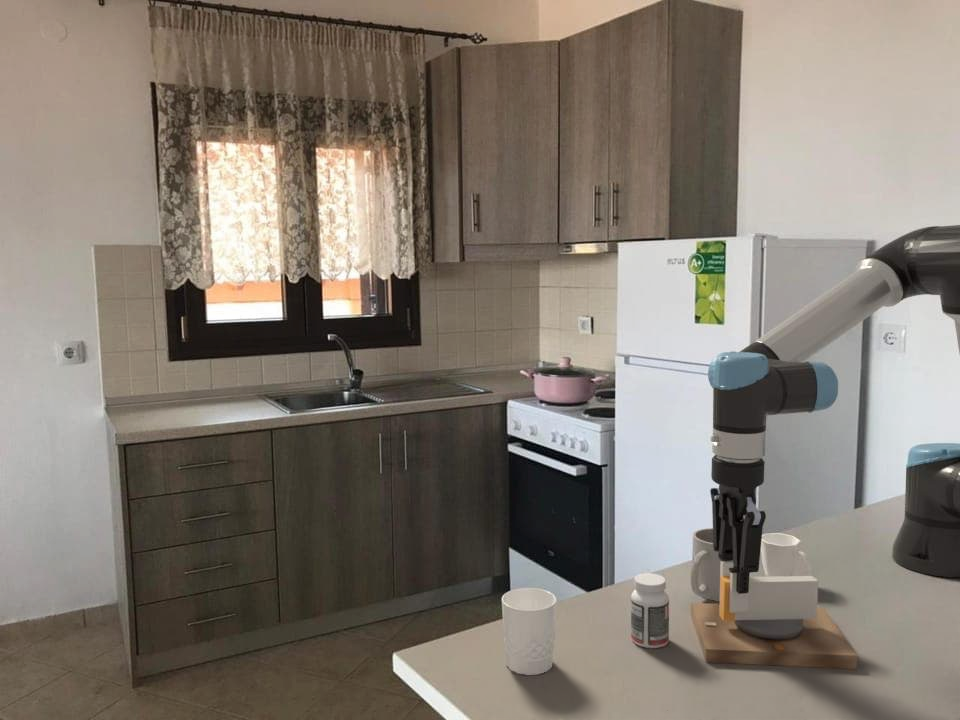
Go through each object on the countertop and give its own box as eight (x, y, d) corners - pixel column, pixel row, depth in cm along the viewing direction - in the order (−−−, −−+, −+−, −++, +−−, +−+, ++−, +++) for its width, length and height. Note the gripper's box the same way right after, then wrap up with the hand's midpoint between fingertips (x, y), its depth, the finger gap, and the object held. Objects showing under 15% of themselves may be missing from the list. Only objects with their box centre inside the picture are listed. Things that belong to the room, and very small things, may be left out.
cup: (776, 571, 150) (777, 530, 149) (822, 590, 142) (823, 546, 141) (749, 579, 147) (750, 536, 146) (795, 598, 138) (796, 553, 137)
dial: (800, 609, 128) (802, 565, 127) (827, 638, 118) (829, 591, 118) (711, 610, 128) (712, 566, 127) (731, 640, 118) (732, 592, 117)
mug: (714, 577, 148) (715, 525, 147) (752, 593, 141) (754, 538, 140) (666, 593, 141) (667, 538, 140) (704, 610, 134) (706, 552, 133)
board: (823, 619, 130) (823, 606, 130) (857, 669, 114) (857, 654, 114) (690, 614, 133) (690, 601, 133) (705, 662, 117) (706, 647, 117)
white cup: (540, 683, 112) (540, 614, 111) (492, 669, 116) (491, 602, 115) (565, 659, 118) (565, 594, 117) (519, 646, 123) (518, 583, 121)
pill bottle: (670, 635, 126) (671, 574, 124) (666, 652, 120) (667, 588, 119) (633, 630, 127) (634, 570, 126) (628, 646, 122) (628, 583, 121)
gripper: (692, 445, 127) (689, 587, 130) (738, 472, 112) (734, 632, 115) (737, 443, 128) (733, 583, 131) (789, 469, 113) (783, 627, 116)
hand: (733, 606), depth 123 cm, fingers closed on dial, 3 cm apart
